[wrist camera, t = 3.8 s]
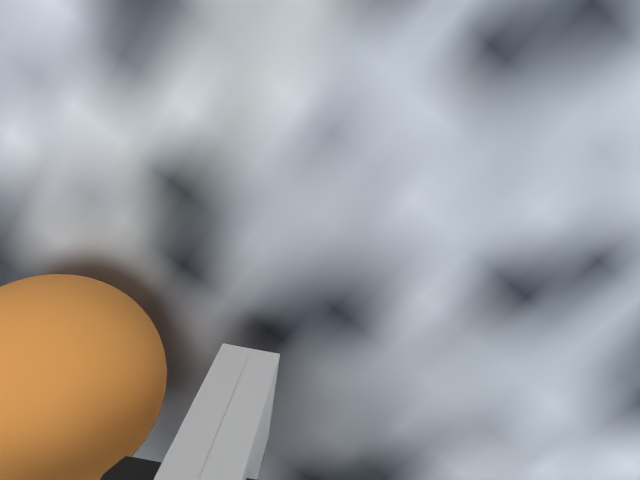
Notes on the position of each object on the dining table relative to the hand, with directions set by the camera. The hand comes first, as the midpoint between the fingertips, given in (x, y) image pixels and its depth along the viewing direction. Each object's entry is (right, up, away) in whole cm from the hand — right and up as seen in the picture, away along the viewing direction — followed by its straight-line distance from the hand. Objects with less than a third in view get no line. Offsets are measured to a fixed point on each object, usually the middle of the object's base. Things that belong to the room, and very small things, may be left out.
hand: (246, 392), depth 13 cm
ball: (-5, 0, 0) cm, 5 cm away
